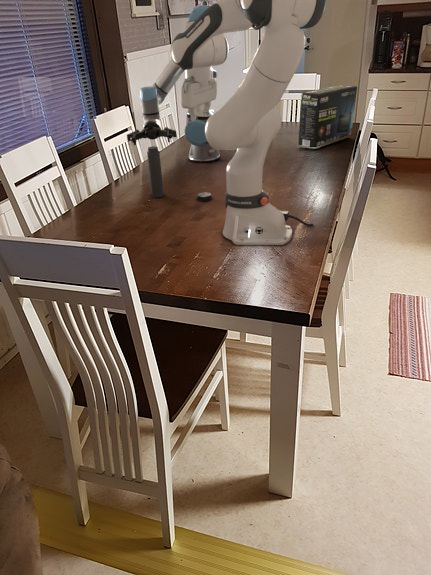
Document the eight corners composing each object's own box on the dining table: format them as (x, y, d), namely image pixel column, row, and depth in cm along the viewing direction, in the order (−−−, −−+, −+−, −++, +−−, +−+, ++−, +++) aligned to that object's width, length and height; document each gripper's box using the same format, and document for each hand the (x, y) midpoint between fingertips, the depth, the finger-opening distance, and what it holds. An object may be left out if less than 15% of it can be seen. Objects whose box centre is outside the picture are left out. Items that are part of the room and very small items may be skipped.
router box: (314, 151, 231) (318, 94, 217) (296, 148, 237) (299, 92, 224) (352, 138, 251) (358, 85, 238) (335, 135, 258) (340, 83, 245)
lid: (212, 196, 180) (212, 192, 179) (209, 201, 176) (209, 197, 175) (199, 196, 181) (199, 191, 180) (196, 200, 177) (195, 196, 176)
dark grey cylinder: (149, 195, 184) (144, 147, 174) (160, 192, 186) (155, 145, 176) (155, 198, 181) (149, 149, 171) (165, 195, 183) (161, 147, 173)
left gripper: (181, 135, 203) (183, 147, 184) (124, 140, 201) (121, 152, 183) (179, 117, 199) (181, 127, 180) (122, 122, 197) (118, 133, 179)
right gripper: (191, 79, 147) (194, 124, 154) (219, 71, 162) (220, 112, 169) (174, 78, 149) (178, 123, 156) (203, 71, 165) (205, 111, 172)
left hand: (151, 140), depth 182 cm, fingers open, 13 cm apart
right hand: (200, 117), depth 163 cm, fingers open, 8 cm apart
